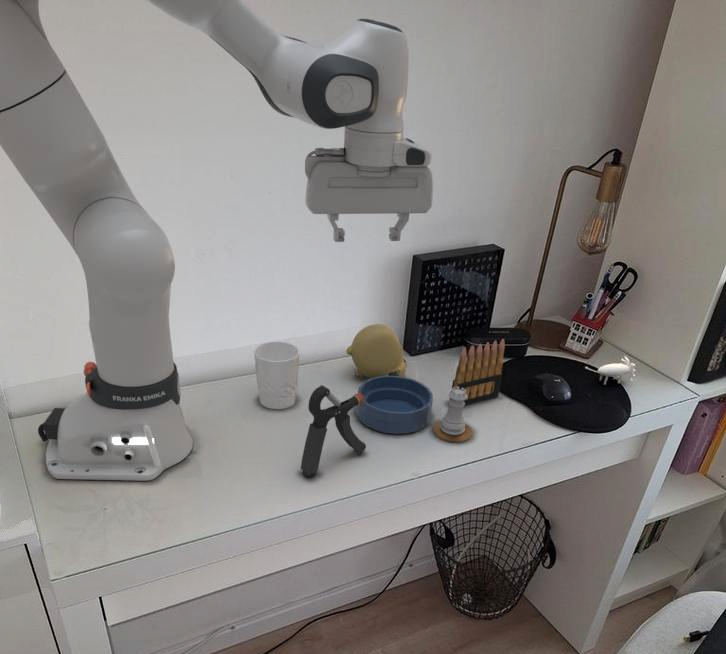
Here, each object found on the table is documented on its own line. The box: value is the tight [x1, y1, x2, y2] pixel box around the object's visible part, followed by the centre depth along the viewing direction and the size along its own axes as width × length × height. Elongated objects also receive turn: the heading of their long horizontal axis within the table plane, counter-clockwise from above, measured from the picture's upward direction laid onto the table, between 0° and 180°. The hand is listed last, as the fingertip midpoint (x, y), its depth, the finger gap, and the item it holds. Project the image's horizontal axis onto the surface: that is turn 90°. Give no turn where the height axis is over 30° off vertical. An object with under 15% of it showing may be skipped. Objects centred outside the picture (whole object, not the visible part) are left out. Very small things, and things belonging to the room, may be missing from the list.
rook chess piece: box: [440, 387, 468, 436], centre depth 119 cm, size 4×4×8 cm
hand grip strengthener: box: [300, 384, 367, 479], centre depth 107 cm, size 2×12×15 cm, turn 131°
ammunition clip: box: [448, 338, 506, 407], centre depth 128 cm, size 11×2×12 cm, turn 120°
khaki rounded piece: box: [346, 323, 408, 379], centre depth 134 cm, size 10×12×11 cm
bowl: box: [356, 376, 434, 435], centre depth 124 cm, size 13×13×4 cm
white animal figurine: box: [584, 355, 638, 386], centre depth 139 cm, size 12×5×5 cm, turn 106°
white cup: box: [253, 341, 300, 410], centre depth 123 cm, size 8×8×10 cm
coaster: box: [432, 420, 473, 444], centre depth 122 cm, size 7×7×1 cm
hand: (366, 240), depth 112 cm, fingers open, 8 cm apart
